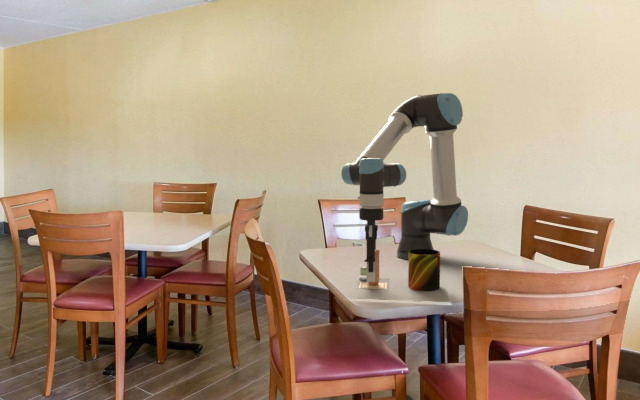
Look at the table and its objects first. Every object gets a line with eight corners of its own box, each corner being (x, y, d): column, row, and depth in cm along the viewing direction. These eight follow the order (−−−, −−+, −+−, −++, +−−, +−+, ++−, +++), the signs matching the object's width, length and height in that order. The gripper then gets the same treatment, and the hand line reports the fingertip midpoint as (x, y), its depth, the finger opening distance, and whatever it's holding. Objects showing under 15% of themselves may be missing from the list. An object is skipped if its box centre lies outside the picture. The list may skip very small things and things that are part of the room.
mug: (409, 281, 163) (410, 245, 162) (445, 289, 153) (446, 251, 152) (391, 286, 156) (391, 250, 155) (427, 295, 146) (428, 256, 145)
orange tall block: (380, 282, 157) (379, 249, 156) (379, 286, 153) (379, 251, 152) (367, 282, 158) (367, 249, 157) (366, 285, 154) (366, 251, 153)
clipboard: (389, 280, 164) (389, 277, 163) (388, 292, 150) (388, 289, 150) (359, 279, 165) (359, 276, 165) (356, 291, 152) (356, 288, 152)
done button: (368, 273, 163) (368, 266, 163) (367, 275, 161) (367, 268, 161) (360, 273, 164) (360, 266, 164) (360, 275, 161) (360, 268, 161)
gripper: (361, 204, 162) (361, 273, 165) (357, 210, 146) (357, 286, 148) (383, 204, 161) (383, 274, 163) (382, 210, 145) (382, 287, 147)
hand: (371, 279), depth 156 cm, fingers closed on orange tall block, 3 cm apart
